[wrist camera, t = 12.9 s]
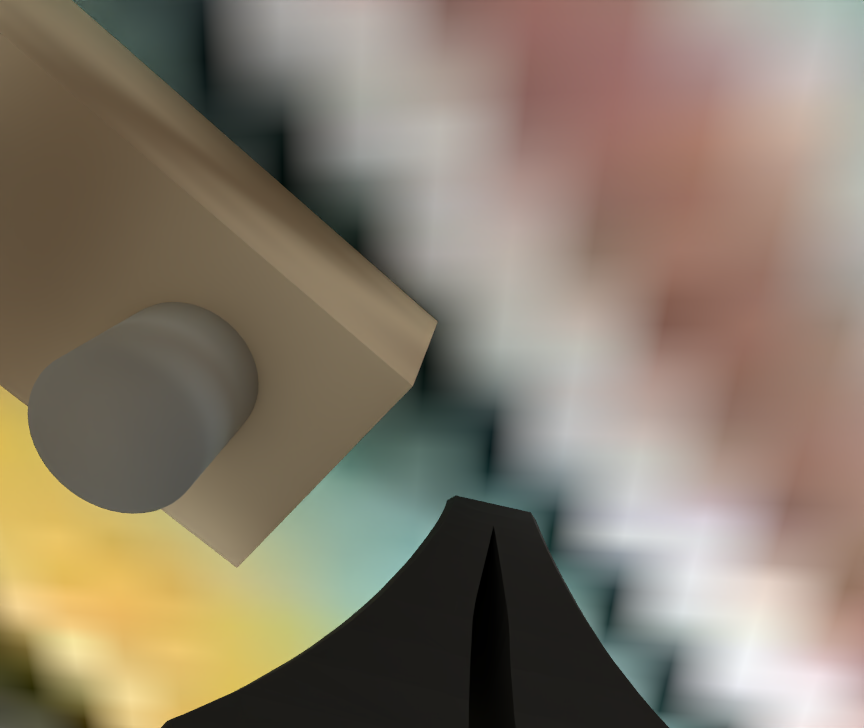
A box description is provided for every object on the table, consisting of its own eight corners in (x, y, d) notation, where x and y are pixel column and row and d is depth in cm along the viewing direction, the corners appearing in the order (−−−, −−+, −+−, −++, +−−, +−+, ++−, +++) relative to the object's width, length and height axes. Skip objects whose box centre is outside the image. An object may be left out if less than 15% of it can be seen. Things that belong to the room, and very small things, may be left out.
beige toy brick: (439, 317, 12) (388, 451, 8) (297, 468, 14) (183, 656, 9) (-16, -83, 11) (-395, -202, 6) (-123, 129, 12) (-496, 155, 8)
